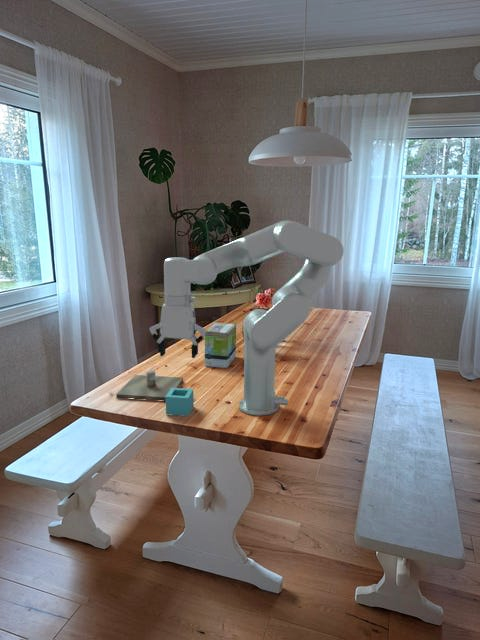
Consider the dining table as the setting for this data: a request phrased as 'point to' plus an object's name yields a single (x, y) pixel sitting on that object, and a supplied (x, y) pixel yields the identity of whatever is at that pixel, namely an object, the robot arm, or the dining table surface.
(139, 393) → the post board
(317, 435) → the dining table surface
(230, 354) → the tea box
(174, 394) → the collar
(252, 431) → the dining table surface
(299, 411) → the dining table surface
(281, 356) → the dining table surface
